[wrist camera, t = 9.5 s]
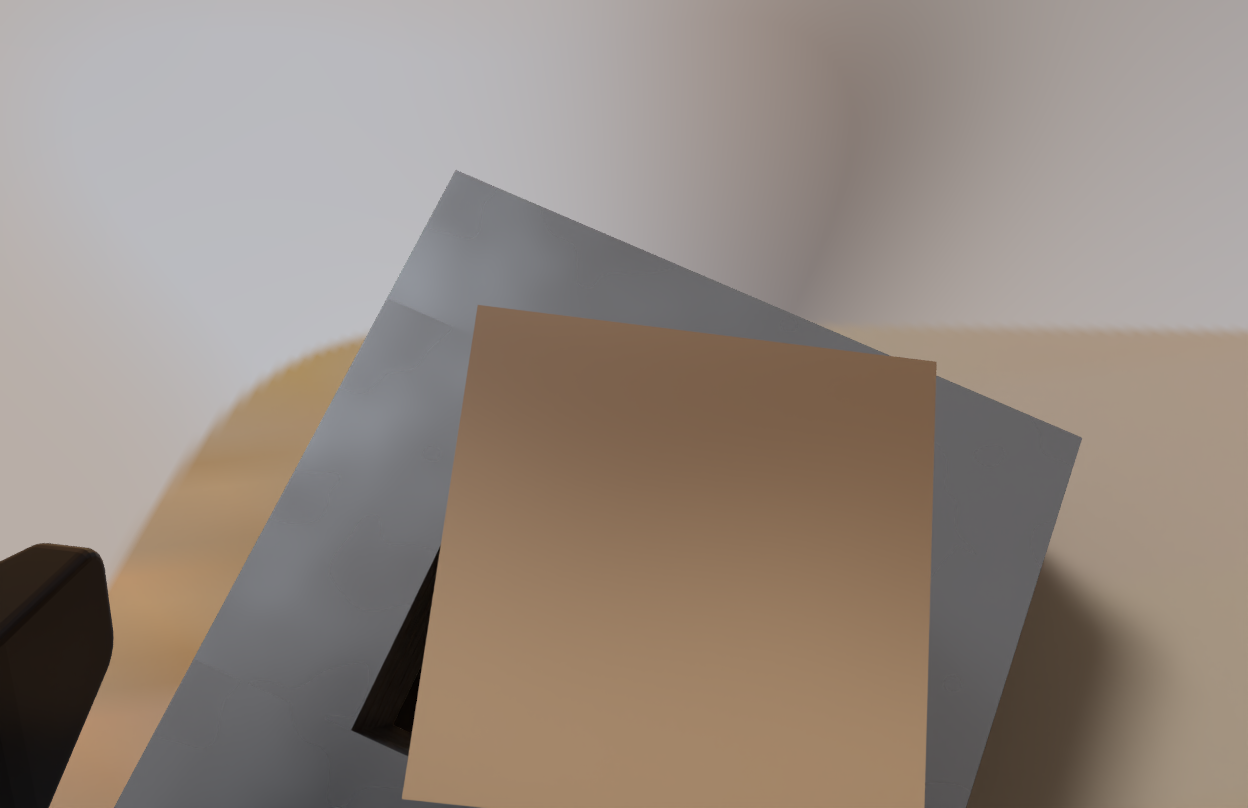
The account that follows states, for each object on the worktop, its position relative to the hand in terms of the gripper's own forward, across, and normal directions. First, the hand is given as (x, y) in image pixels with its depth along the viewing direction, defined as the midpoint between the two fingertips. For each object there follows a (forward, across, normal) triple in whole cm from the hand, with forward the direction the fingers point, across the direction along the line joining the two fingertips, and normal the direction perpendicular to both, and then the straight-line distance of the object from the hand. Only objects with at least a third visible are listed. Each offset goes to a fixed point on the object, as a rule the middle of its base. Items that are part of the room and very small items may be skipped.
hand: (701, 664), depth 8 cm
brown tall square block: (+8, 0, +7) cm, 10 cm away
